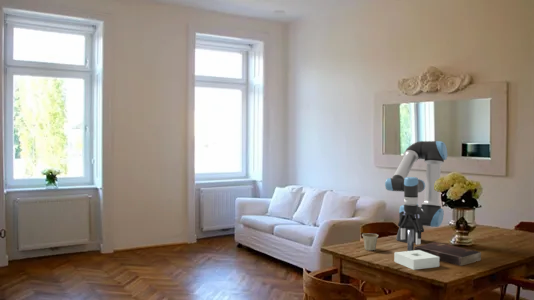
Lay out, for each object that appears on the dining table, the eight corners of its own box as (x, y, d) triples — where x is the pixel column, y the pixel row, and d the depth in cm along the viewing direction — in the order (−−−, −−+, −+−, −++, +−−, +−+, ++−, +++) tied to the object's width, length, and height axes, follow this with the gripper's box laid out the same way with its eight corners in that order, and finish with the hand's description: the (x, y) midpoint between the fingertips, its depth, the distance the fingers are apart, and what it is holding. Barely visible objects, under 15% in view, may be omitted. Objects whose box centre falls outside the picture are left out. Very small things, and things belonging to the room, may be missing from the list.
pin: (411, 253, 267) (411, 229, 267) (414, 254, 264) (415, 230, 264) (406, 254, 266) (406, 229, 266) (409, 255, 263) (410, 230, 262)
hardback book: (414, 255, 265) (414, 246, 265) (434, 250, 276) (434, 242, 276) (460, 266, 242) (460, 257, 241) (480, 261, 252) (481, 252, 252)
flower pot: (378, 251, 271) (378, 237, 271) (362, 251, 273) (362, 236, 273) (378, 248, 280) (378, 233, 280) (362, 247, 282) (362, 233, 282)
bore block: (419, 259, 255) (419, 249, 255) (439, 266, 240) (439, 256, 240) (394, 261, 249) (394, 252, 249) (413, 269, 234) (413, 259, 234)
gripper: (392, 202, 275) (391, 237, 275) (419, 207, 251) (419, 246, 251) (402, 201, 277) (402, 237, 277) (431, 207, 254) (430, 245, 254)
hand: (410, 241), depth 264 cm, fingers open, 13 cm apart
